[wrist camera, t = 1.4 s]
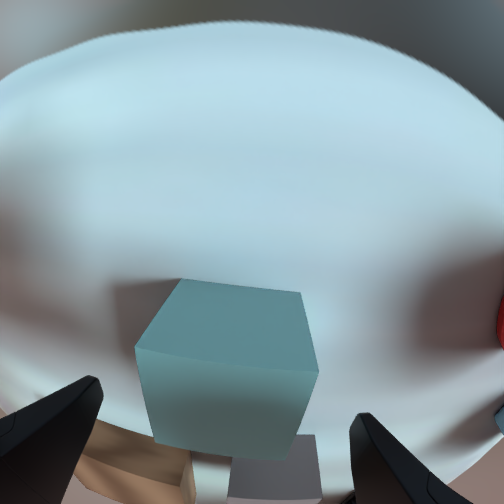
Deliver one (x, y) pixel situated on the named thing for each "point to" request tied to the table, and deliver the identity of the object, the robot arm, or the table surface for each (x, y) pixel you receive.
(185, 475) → the walnut base block
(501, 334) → the canned food
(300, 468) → the gray cube
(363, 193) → the table surface
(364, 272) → the table surface
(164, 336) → the teal cube
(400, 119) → the table surface
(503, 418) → the data package
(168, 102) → the table surface
